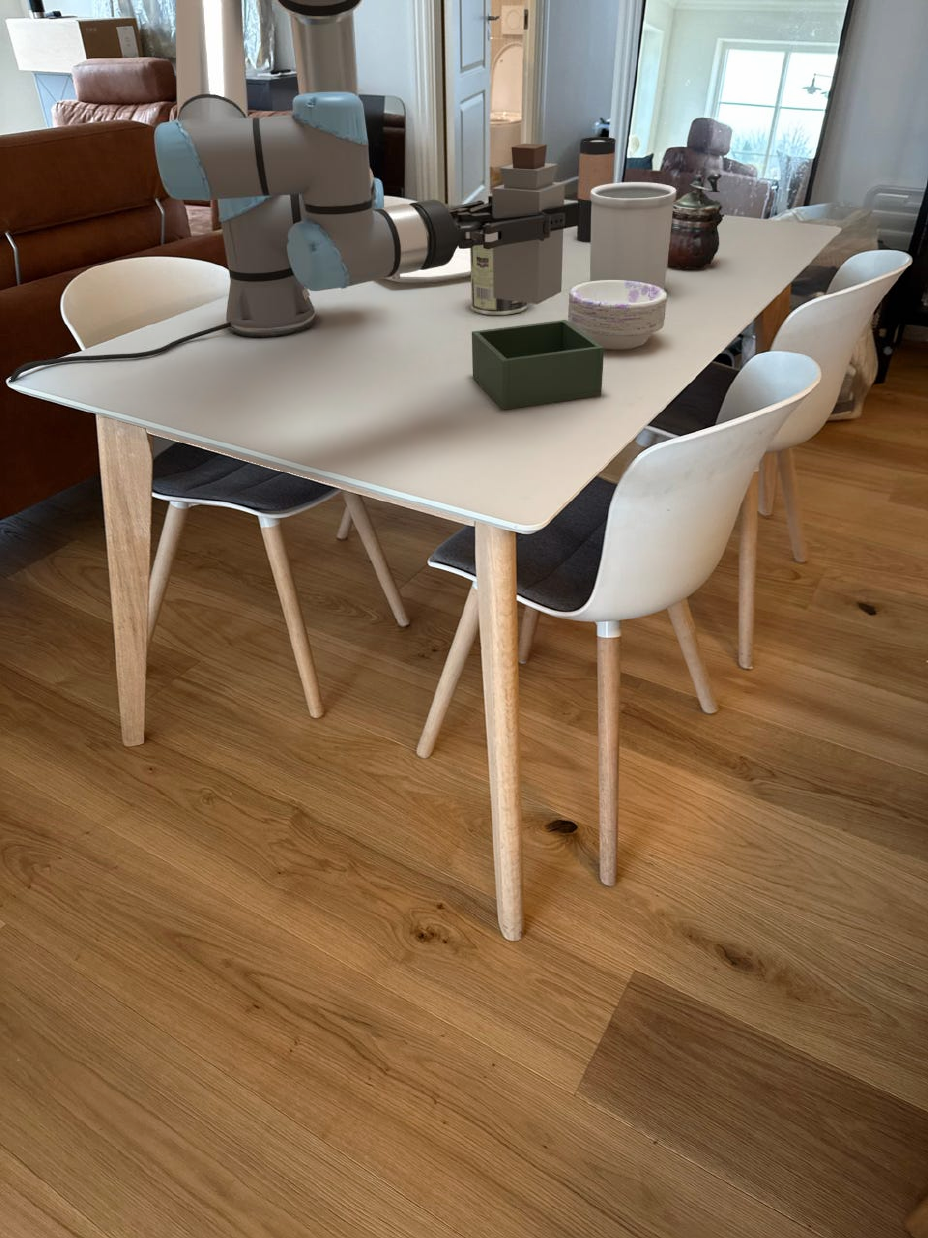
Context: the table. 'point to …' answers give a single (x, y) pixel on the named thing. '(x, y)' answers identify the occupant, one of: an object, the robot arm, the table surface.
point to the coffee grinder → (695, 227)
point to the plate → (441, 270)
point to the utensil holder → (631, 232)
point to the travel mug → (593, 177)
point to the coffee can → (488, 286)
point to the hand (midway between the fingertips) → (557, 209)
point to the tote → (537, 364)
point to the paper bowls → (617, 311)
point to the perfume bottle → (533, 263)
